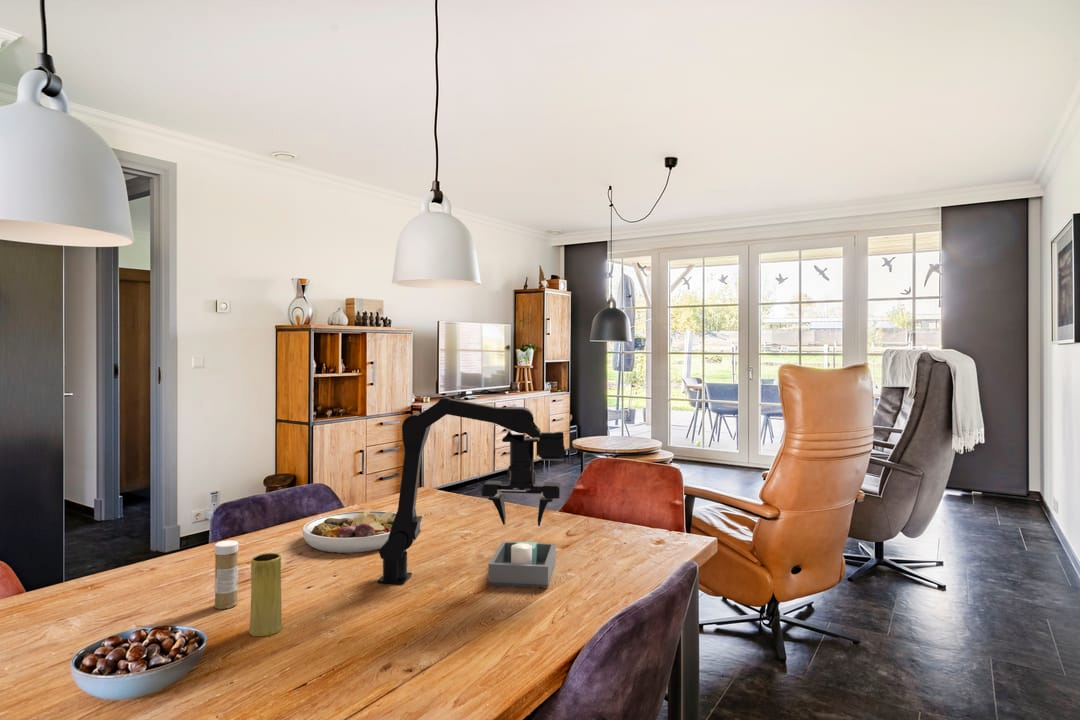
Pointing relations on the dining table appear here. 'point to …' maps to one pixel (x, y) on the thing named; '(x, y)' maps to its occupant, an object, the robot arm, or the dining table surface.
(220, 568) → the spice jar
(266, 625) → the vase
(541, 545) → the tote
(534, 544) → the teal cube
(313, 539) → the bowl
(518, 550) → the white cylinder
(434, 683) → the dining table surface
